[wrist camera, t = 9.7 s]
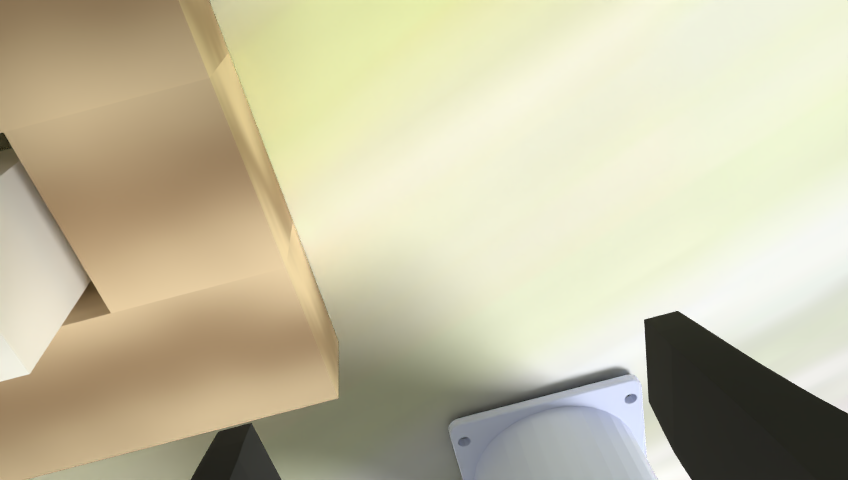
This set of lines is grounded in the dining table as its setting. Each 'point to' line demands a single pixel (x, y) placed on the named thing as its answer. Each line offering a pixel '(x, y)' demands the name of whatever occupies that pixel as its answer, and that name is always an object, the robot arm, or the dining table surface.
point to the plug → (31, 271)
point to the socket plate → (153, 237)
